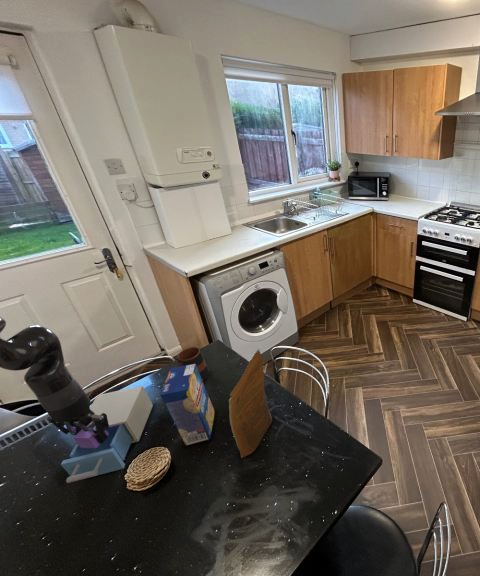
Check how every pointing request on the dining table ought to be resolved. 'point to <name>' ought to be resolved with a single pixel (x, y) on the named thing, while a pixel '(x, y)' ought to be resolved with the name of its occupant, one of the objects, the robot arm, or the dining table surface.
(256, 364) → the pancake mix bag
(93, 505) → the dining table surface
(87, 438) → the block
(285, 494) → the dining table surface
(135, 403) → the cabinet
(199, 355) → the mug
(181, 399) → the blue cereal box
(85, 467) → the drawer
